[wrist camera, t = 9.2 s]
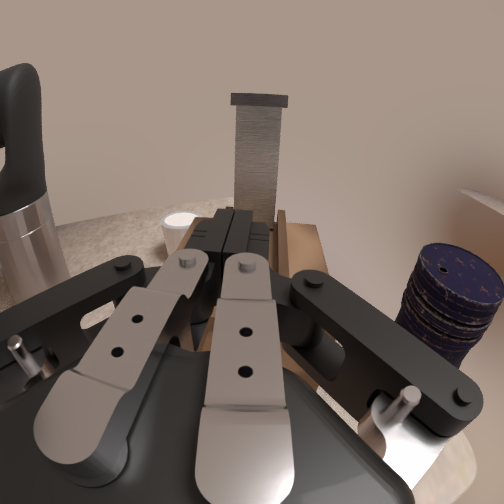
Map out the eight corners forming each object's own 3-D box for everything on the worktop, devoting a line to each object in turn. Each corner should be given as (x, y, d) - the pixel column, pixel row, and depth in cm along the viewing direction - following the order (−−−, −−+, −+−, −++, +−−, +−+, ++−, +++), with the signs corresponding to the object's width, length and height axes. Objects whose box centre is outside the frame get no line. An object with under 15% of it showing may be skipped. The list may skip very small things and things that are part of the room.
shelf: (170, 394, 26) (140, 293, 19) (200, 296, 40) (194, 205, 33) (309, 406, 25) (345, 309, 18) (302, 304, 39) (317, 213, 32)
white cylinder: (166, 247, 51) (162, 211, 47) (204, 244, 52) (202, 209, 48) (163, 269, 45) (158, 229, 41) (205, 266, 46) (203, 226, 42)
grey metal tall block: (228, 227, 31) (230, 93, 23) (233, 213, 34) (235, 93, 26) (278, 230, 30) (288, 95, 23) (277, 216, 33) (286, 95, 26)
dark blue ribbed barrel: (424, 341, 32) (470, 244, 25) (452, 398, 24) (522, 300, 16) (361, 347, 32) (401, 239, 24) (382, 415, 24) (453, 309, 16)
